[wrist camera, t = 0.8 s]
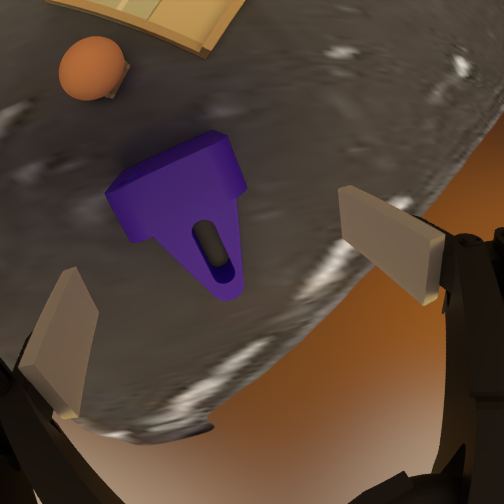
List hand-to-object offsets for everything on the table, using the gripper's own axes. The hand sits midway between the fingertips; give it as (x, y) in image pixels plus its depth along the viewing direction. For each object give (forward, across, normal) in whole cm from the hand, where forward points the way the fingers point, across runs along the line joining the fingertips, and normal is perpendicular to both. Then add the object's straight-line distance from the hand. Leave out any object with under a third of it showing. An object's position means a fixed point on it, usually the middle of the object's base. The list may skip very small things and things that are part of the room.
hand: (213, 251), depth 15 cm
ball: (+15, -6, +13) cm, 21 cm away
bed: (+22, 0, +22) cm, 31 cm away
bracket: (+22, 0, -6) cm, 23 cm away
